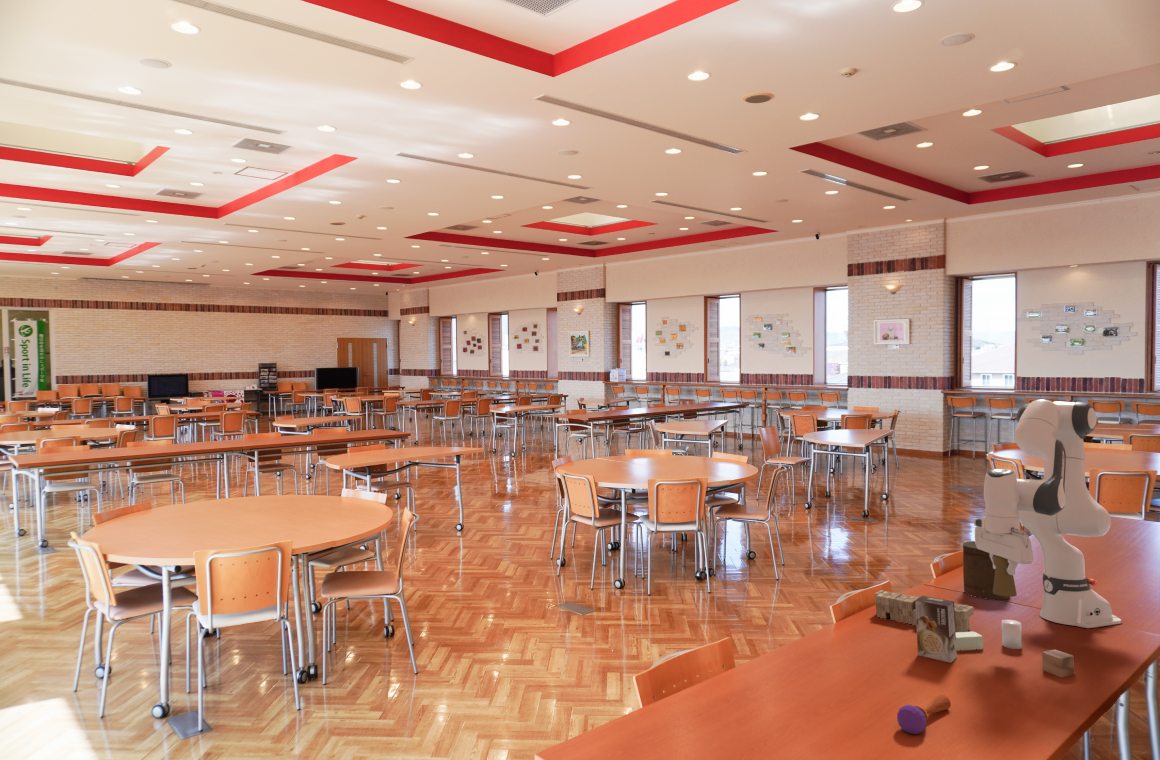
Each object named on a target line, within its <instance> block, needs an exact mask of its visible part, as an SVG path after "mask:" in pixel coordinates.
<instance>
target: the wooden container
mask: <svg viewBox="0 0 1160 760" xmlns="http://www.w3.org/2000/svg"><path fill="white" fill-rule="evenodd" d="M962 550H963V551H962V561H963V562H962V564H963V565H962V566H963V567H962V568H963V569H962V572H963V574H962V575H963V592H964V591H965V592H964V593H965V594H966V593H967V594H966V595H968V594H969V595H968V596H970V595H972V596H971V597H973V596H976V597H975V598H977V597H981V598H987V599H986V600H989V599H997V600H996V601H1001V600H1000V599H1004V600H1008V599H1010V598H1011V597H1006V596H1000V595H996V594H994V593H993V586H994V577H995V569H994V568H993V563H992V561H991V558H990V553H988V552H985V551H983V550H980V549H978V548H977V546H976V544H975V540H972V541H971V540H970V541H965V542H963V543H962ZM981 598H980V599H981Z"/></svg>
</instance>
